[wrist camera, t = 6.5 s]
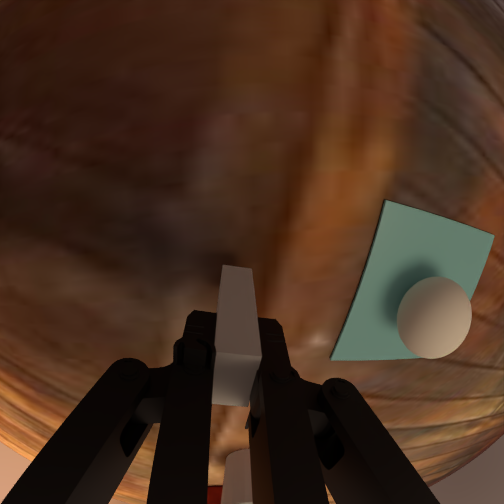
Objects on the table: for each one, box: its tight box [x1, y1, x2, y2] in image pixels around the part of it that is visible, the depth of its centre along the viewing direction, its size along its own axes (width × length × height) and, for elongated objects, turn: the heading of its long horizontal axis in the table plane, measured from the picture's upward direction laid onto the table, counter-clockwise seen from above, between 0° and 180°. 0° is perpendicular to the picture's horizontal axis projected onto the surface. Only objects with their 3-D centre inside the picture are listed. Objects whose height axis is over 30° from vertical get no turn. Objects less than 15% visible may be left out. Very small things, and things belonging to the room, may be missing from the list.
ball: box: [397, 277, 472, 359], centre depth 16 cm, size 6×6×6 cm
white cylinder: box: [221, 449, 253, 504], centre depth 22 cm, size 7×7×7 cm
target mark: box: [330, 200, 495, 360], centre depth 18 cm, size 12×12×1 cm
